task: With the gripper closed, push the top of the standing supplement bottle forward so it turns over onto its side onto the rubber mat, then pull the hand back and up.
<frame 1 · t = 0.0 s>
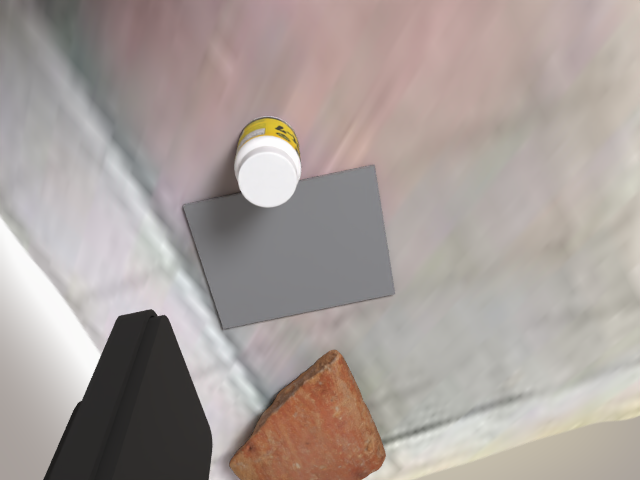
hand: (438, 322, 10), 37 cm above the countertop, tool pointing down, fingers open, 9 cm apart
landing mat: (294, 250, 51), on the countertop
supplement bottle: (268, 143, 47), on the countertop
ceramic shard: (296, 417, 60), on the countertop
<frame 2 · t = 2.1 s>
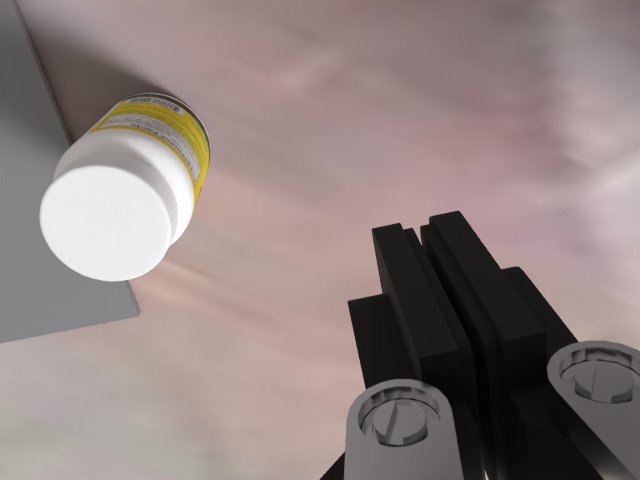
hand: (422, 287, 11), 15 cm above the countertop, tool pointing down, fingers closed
supplement bottle: (158, 144, 26), on the countertop
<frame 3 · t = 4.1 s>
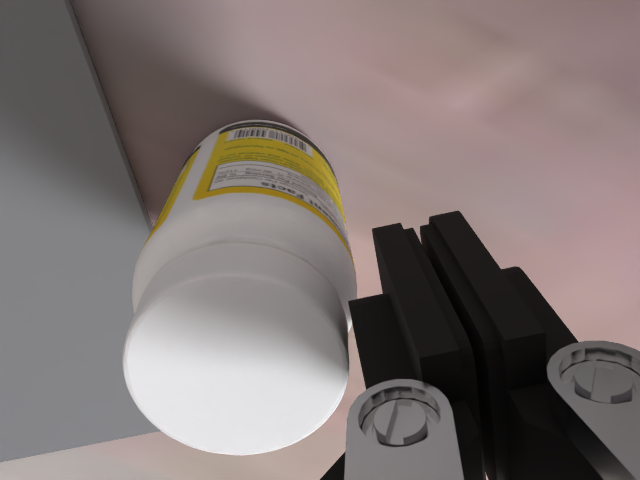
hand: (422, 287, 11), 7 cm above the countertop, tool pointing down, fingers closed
supplement bottle: (261, 191, 18), on the countertop, touching gripper
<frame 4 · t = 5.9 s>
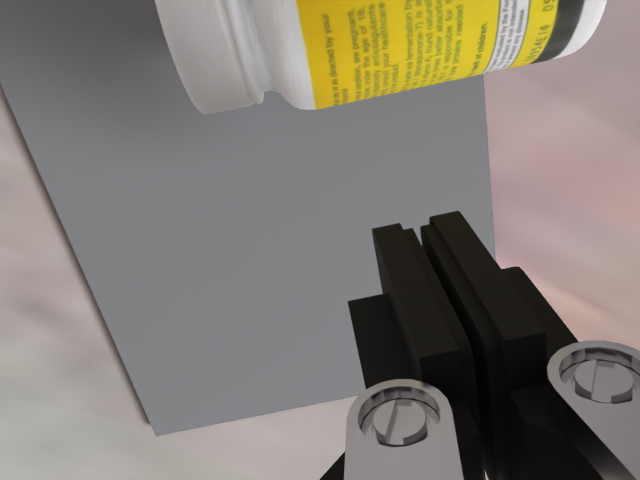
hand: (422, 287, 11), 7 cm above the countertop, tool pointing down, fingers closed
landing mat: (276, 191, 17), on the countertop
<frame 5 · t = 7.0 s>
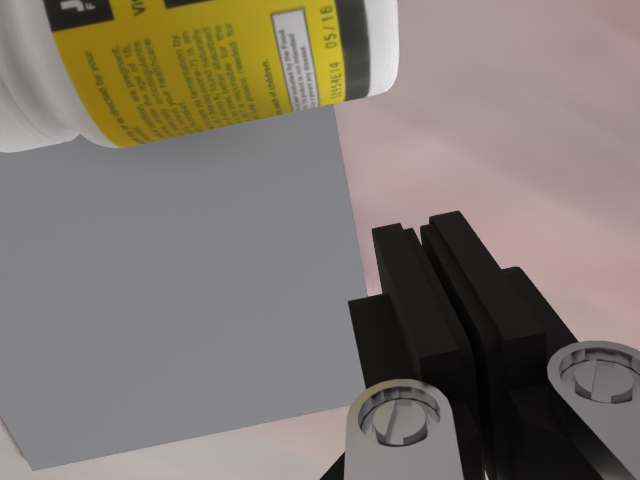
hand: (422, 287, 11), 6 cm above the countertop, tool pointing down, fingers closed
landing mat: (134, 224, 17), on the countertop
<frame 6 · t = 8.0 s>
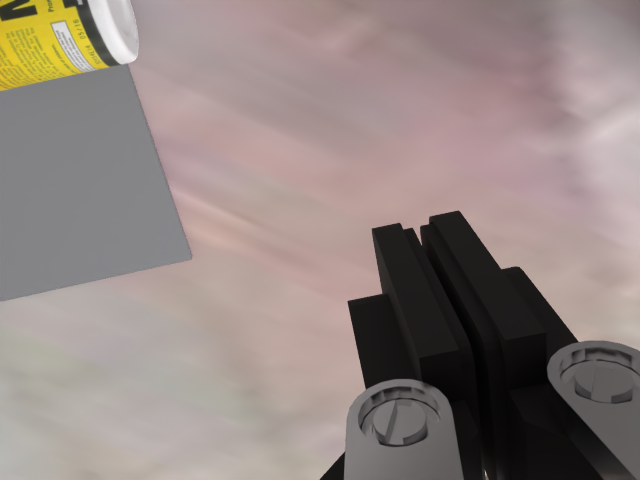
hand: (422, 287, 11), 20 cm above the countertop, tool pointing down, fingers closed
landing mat: (22, 144, 29), on the countertop
supplement bottle: (125, 0, 24), point 3 cm above the countertop, touching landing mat
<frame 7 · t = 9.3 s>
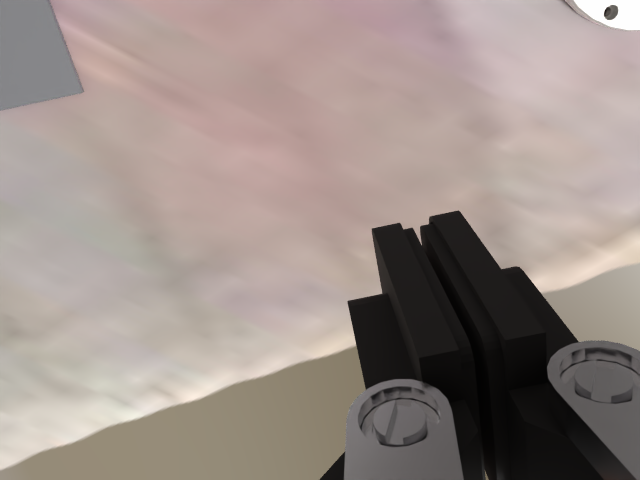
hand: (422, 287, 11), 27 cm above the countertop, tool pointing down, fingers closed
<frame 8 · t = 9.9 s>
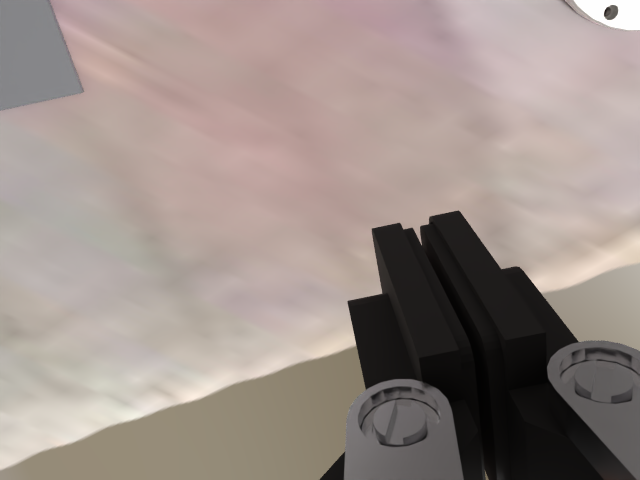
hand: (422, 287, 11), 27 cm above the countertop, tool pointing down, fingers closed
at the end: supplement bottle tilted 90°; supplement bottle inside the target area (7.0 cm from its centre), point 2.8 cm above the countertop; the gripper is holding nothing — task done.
